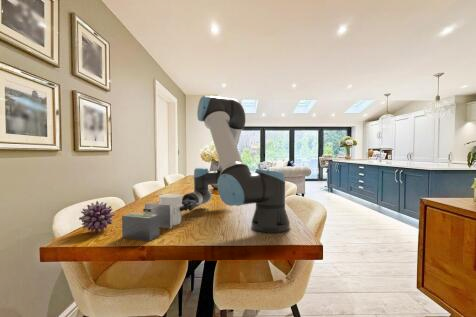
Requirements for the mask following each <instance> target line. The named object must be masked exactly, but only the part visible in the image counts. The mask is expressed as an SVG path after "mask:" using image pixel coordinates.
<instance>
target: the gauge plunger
mask: <svg viewBox="0 0 476 317" xmlns="http://www.w3.org/2000/svg"><path fill="white" fill-rule="evenodd" d="M142 212H144V214H153V215H159V228H165V229H172V228H173V226H172V204H160V203H156V202H155V203H154V202H153V203H152V202H145V203H144V208H143V211H142Z"/></svg>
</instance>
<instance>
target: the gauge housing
mask: <svg viewBox="0 0 476 317" xmlns="http://www.w3.org/2000/svg"><path fill="white" fill-rule="evenodd" d="M121 233H122V234H121V238H123V239H129V240H130V239H131V240H138V241H146V242H151V241H153V240H155V239H157V238H159V237H160V227H159V215H153V214H145V213H142V212H141V213H140V212H131V213H127V214H124V215H122V216H121Z"/></svg>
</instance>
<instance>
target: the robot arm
mask: <svg viewBox="0 0 476 317" xmlns="http://www.w3.org/2000/svg"><path fill="white" fill-rule="evenodd" d="M196 114H197V115H196V116H197V120H198V121H200V122H204V123H203V124H204V126H205V127H206V128H207V129H209V131H210V134H211V138H212V141H213V144H214V148H215V151H216V153H217V157H218V160H219V162H218V166H217V170H209V168H207V167H196V168H194V172H193V183H194V184H193V188H194V189H193V190H194V191H192V192H188V193H186V194H184V195H183V196H182V205H180V206H176V207H174V214H177V213H179V212H184V211H192V210H194V209H196V208H197V207H199V206H201V205H203V204H207V203H208V202H210V201H211V198H212V192H211V191H210V190H209V186H211V185H217V192H218V195H219V197H220V199H221V201H222V203H224V204H225V205H227V206H229V207H231V206H236V207H239V206H243V205H249V204H250V205H251V204H255V210H254V213H253V215H252V218H251V219H252V220H251V229H253V230H255V231H256V232H260V233H270V234H272V233H273V234H276V233H277V234H278V233H284V232H287V231H288V230H290V228H291V225H290V219H289V216H288V213H287V210H286V180H285V179H286V177H285V176H286V175H285V173H284V172H283V171H280V170H271V169H264V168H263V169H262V168H261V169H260V168H256V169H255V171H254V172H251V171H250V168H249V166H248V165H247V164H245V163H244V162H243V159H242V157H241V155H240V152H239V149H238V144H239V141H240V138H241V137H240V136H241V132H242V131H243V130H244V129H245V126H246V112H245V109H244V107H243V105H242V104H241V103H240V102H239V101H238V99H235V98H234V97H233V98H232V97H223V96H215V95H202V96H201V98H200V99H199V102H198V105H197V113H196Z"/></svg>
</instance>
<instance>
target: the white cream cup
mask: <svg viewBox="0 0 476 317" xmlns="http://www.w3.org/2000/svg"><path fill="white" fill-rule="evenodd" d="M183 196H184V195H183V194H181V193H165V194H160V195H158V199H159V202H158V203H159V204H172V227H173V226H177V225H181V223H182V214H183V213H182V212H183V211H182V212H179V213H177V214H174V207H176V206H180V205H182V198H183Z"/></svg>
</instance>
